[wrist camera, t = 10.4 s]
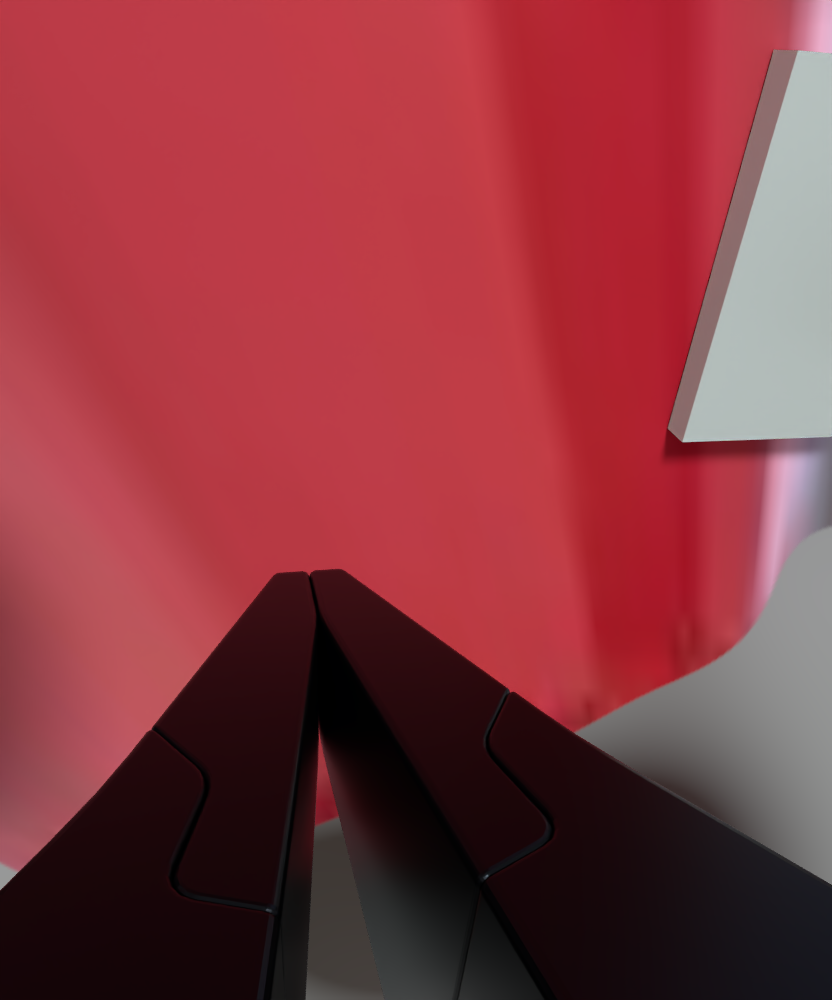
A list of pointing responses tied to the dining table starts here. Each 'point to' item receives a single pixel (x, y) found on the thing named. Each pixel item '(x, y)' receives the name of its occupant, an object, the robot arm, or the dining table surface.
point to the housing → (771, 276)
